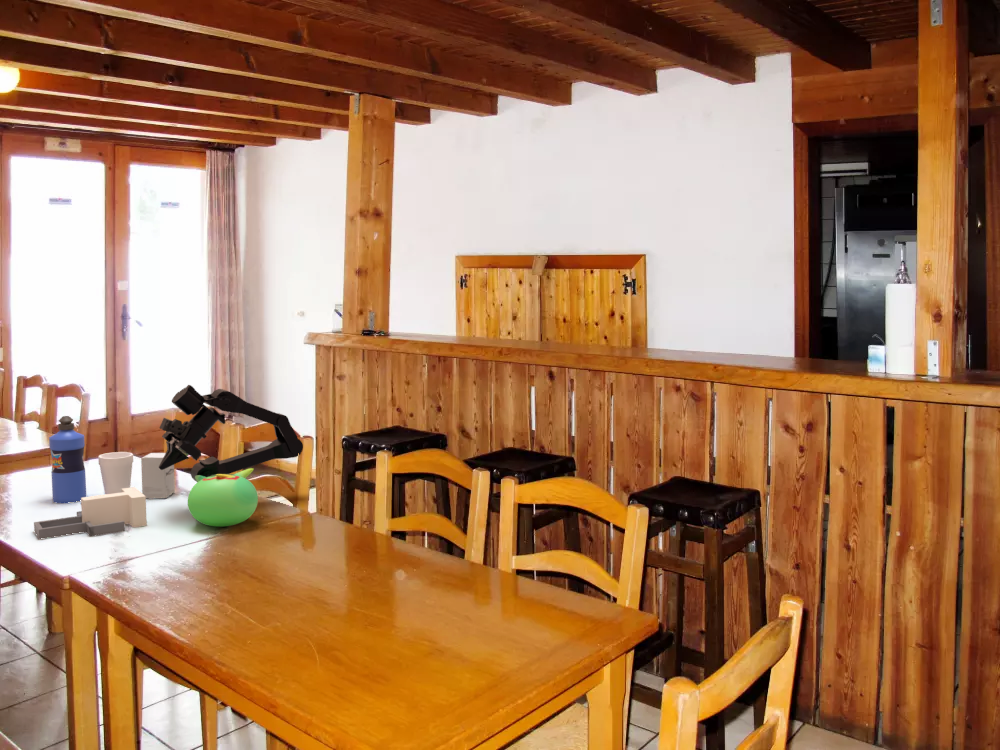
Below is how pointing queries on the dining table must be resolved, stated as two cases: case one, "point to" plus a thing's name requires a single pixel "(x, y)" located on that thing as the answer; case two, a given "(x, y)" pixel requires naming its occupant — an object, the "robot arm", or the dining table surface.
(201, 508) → the green rounded blob
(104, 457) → the foam cup
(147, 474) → the supplement box
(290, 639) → the dining table surface
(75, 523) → the t outline
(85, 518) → the t block
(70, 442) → the water bottle
